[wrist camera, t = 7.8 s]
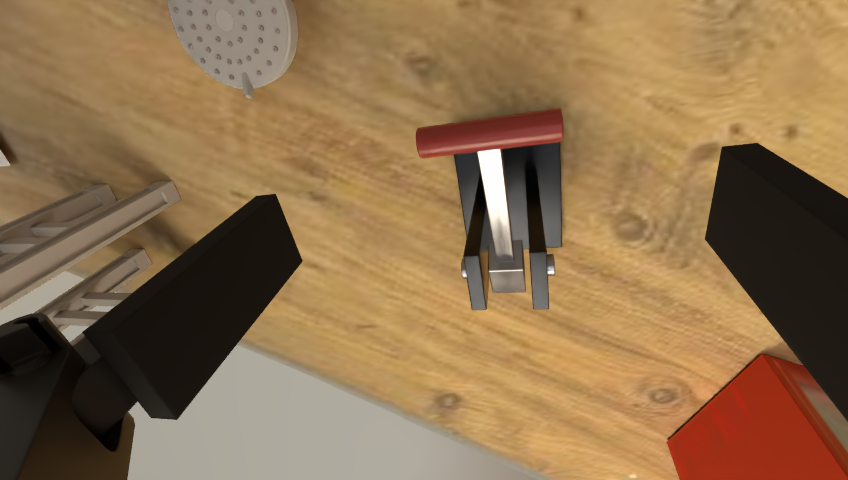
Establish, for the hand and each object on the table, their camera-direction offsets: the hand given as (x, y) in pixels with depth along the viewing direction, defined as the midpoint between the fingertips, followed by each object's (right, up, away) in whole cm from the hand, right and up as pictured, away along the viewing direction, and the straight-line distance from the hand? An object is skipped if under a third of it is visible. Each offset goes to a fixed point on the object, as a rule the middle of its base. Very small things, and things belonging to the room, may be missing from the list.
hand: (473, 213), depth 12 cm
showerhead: (-14, +18, +22) cm, 32 cm away
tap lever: (+3, +1, +11) cm, 12 cm away
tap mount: (+7, +4, +25) cm, 26 cm away
